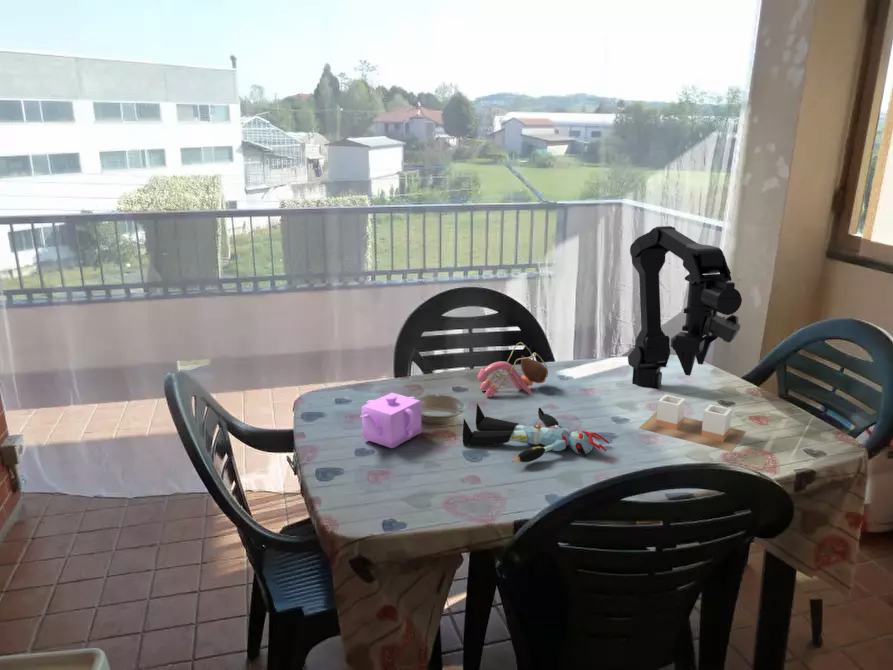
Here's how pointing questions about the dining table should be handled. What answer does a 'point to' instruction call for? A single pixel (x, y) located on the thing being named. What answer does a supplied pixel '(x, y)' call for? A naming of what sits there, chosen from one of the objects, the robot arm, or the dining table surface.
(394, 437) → the teapot
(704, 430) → the sleeve loose
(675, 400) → the sleeve seated
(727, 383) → the dining table surface
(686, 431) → the pin board
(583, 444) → the toy
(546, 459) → the dining table surface
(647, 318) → the robot arm
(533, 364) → the anatomy model
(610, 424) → the dining table surface
